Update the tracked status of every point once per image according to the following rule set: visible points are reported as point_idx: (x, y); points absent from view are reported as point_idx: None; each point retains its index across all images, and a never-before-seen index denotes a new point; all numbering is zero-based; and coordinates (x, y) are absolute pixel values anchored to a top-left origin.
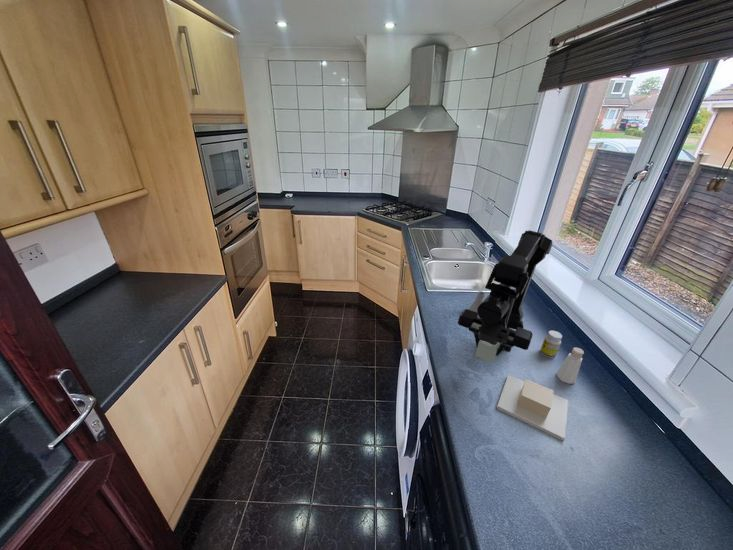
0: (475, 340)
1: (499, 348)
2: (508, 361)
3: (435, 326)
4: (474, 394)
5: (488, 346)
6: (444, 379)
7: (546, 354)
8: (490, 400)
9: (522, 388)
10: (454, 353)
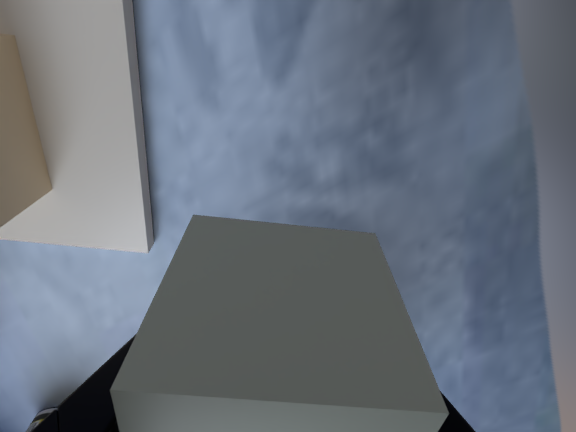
0: (461, 416)
1: (103, 419)
2: None
3: (521, 386)
4: (284, 6)
5: (270, 396)
6: (489, 40)
7: None
8: (181, 9)
9: (26, 175)
10: (428, 274)
